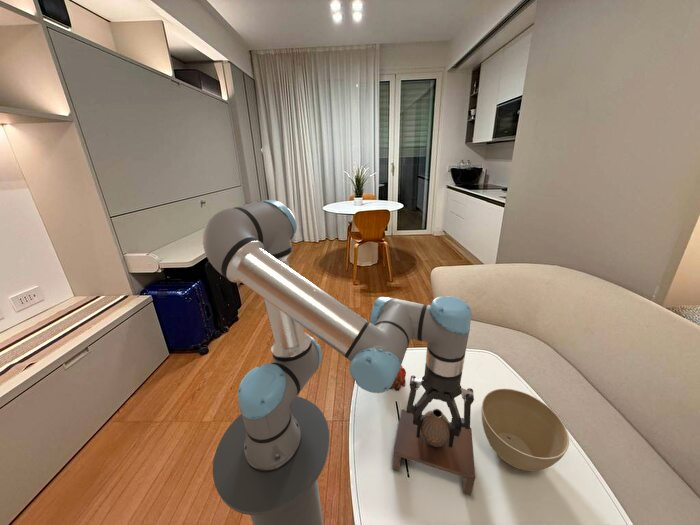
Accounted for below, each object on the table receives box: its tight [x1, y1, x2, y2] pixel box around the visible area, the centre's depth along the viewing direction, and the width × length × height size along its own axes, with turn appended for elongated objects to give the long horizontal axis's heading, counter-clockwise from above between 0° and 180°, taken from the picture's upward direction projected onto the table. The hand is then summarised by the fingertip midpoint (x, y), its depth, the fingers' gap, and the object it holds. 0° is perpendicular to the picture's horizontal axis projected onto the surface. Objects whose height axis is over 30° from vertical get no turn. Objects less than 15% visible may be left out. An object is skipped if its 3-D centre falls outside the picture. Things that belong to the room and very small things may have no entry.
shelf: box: [392, 408, 476, 497], centre depth 67 cm, size 18×12×7 cm, turn 71°
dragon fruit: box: [388, 364, 407, 392], centre depth 90 cm, size 8×8×12 cm
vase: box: [421, 408, 451, 447], centre depth 64 cm, size 7×7×9 cm
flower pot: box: [481, 388, 570, 472], centre depth 67 cm, size 18×18×12 cm
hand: (434, 436), depth 66 cm, fingers closed on vase, 7 cm apart
